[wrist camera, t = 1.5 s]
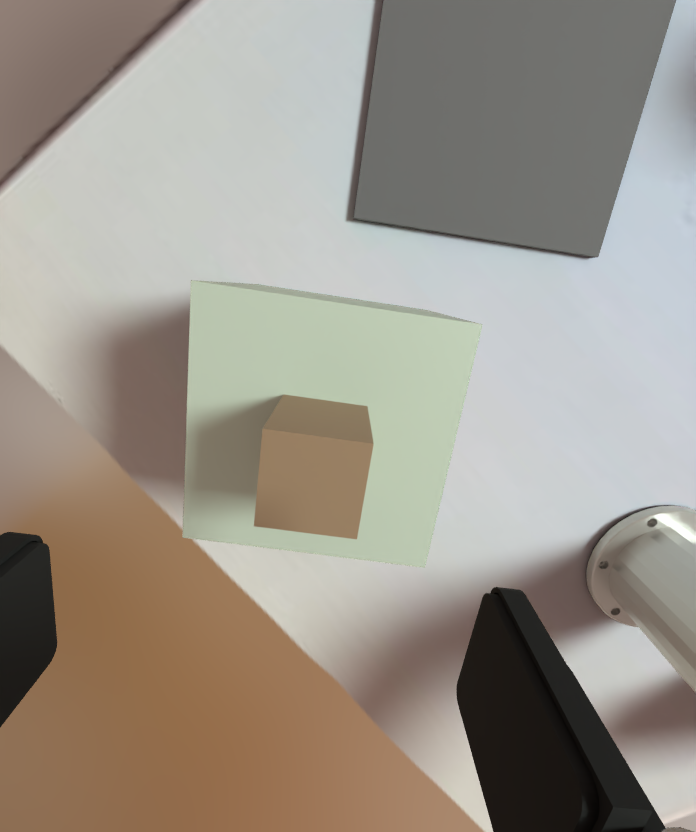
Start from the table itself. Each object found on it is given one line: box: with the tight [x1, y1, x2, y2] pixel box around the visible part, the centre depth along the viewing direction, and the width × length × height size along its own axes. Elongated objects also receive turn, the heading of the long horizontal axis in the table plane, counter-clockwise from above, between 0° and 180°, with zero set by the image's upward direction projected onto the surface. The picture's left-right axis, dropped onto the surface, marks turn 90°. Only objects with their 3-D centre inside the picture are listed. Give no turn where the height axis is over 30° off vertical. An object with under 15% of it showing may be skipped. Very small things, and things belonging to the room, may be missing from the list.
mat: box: [354, 0, 676, 257], centre depth 27 cm, size 18×18×1 cm
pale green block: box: [183, 280, 482, 568], centre depth 24 cm, size 13×13×19 cm
